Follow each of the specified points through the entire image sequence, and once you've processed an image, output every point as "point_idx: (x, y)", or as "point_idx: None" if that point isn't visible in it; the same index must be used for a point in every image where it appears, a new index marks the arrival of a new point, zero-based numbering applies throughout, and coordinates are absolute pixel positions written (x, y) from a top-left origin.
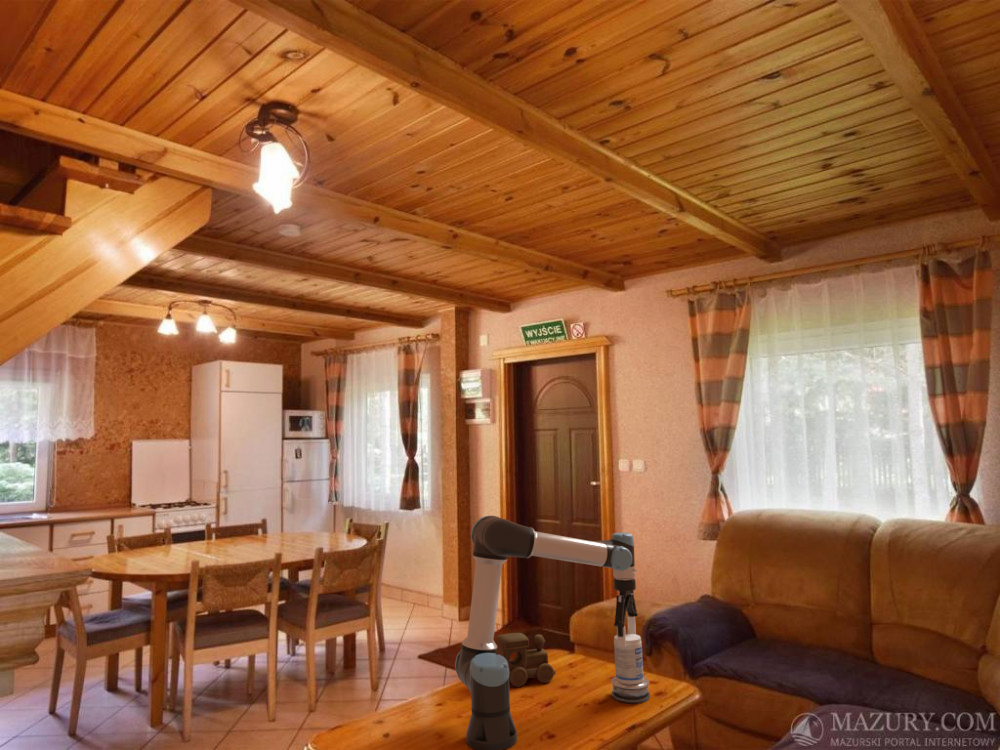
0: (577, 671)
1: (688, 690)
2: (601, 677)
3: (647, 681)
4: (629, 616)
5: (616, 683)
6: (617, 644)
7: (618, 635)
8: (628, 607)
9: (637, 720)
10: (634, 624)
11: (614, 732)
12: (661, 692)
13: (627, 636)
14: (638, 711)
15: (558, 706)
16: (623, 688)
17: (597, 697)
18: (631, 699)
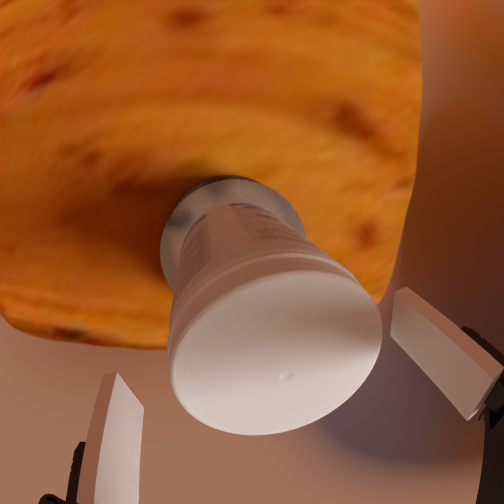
0: (330, 5)
1: None
2: (330, 79)
3: None
4: (494, 382)
5: (181, 226)
6: (171, 330)
7: (78, 450)
8: (493, 502)
9: (101, 330)
10: (436, 382)
11: (30, 315)
12: None
13: (297, 372)
14: (144, 309)
15: (41, 111)
16: (162, 267)
17: (156, 153)
18: None
